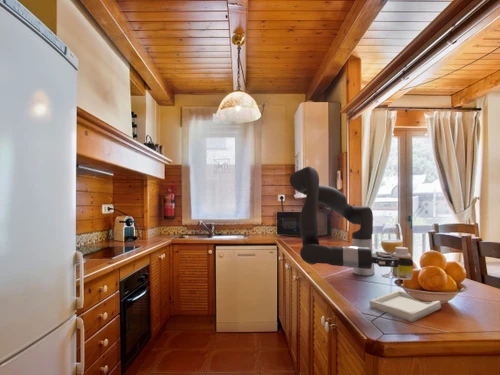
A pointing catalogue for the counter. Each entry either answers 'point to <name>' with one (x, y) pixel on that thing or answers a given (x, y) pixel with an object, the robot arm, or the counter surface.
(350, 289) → the counter surface
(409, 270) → the supplement bottle
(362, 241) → the robot arm
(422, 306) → the tray
